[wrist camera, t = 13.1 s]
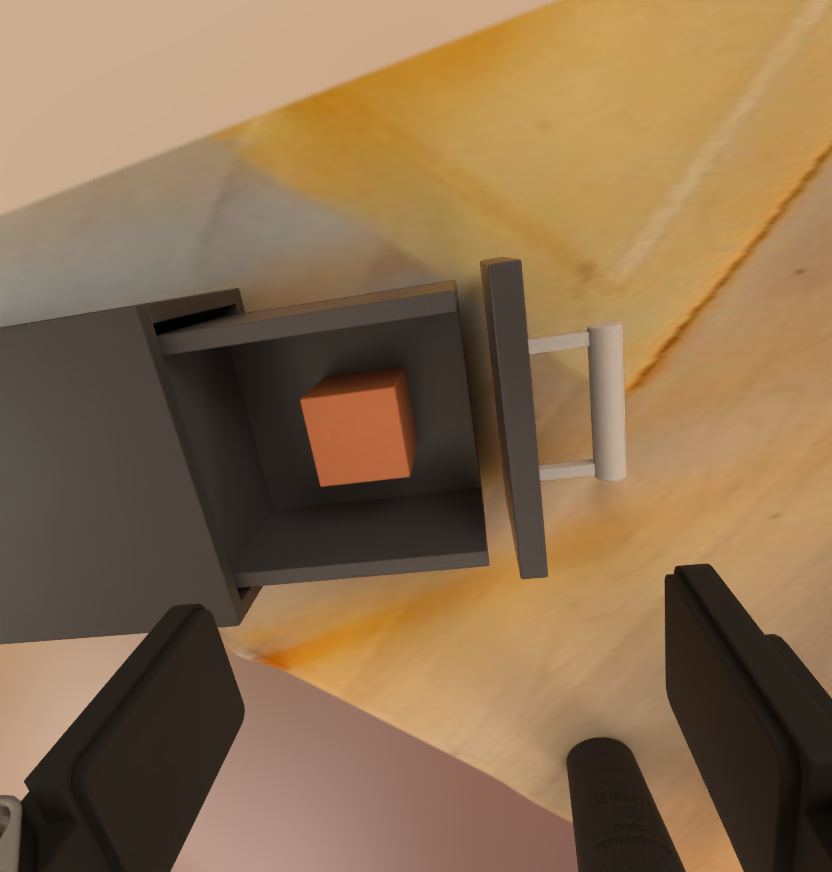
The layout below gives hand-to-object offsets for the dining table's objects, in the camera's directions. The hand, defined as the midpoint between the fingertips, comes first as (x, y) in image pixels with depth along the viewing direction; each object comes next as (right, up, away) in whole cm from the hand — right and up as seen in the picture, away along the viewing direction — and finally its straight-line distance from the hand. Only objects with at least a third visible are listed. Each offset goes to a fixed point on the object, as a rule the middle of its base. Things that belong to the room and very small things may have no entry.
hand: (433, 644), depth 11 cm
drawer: (-1, +6, +18) cm, 19 cm away
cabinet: (-17, +5, +21) cm, 27 cm away
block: (-3, +6, +17) cm, 18 cm away
